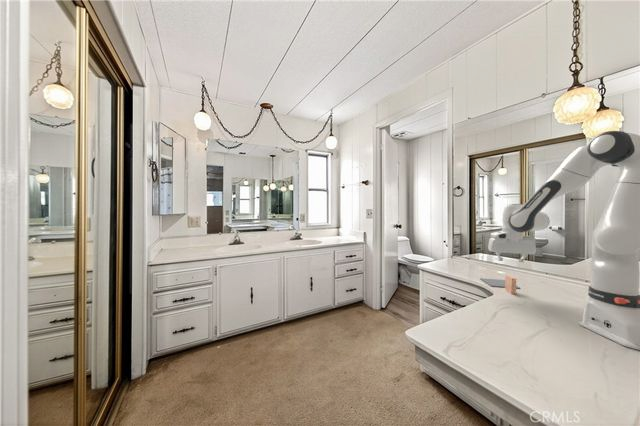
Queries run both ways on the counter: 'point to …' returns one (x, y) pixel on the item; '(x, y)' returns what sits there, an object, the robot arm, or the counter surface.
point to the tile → (510, 284)
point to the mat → (496, 283)
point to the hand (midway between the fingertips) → (510, 261)
